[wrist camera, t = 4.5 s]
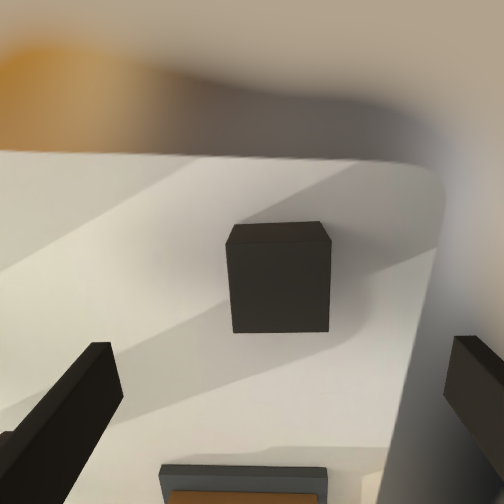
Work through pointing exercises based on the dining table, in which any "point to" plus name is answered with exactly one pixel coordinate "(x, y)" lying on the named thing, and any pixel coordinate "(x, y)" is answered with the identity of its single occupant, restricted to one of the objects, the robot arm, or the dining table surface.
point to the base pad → (242, 485)
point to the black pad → (279, 277)
